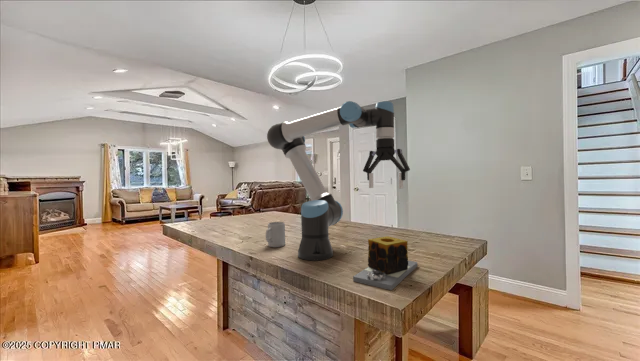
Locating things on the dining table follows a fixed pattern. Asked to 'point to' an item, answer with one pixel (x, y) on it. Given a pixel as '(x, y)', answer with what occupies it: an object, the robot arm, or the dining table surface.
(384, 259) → the candle
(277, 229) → the mug
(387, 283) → the gear board
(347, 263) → the dining table surface
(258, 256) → the dining table surface
